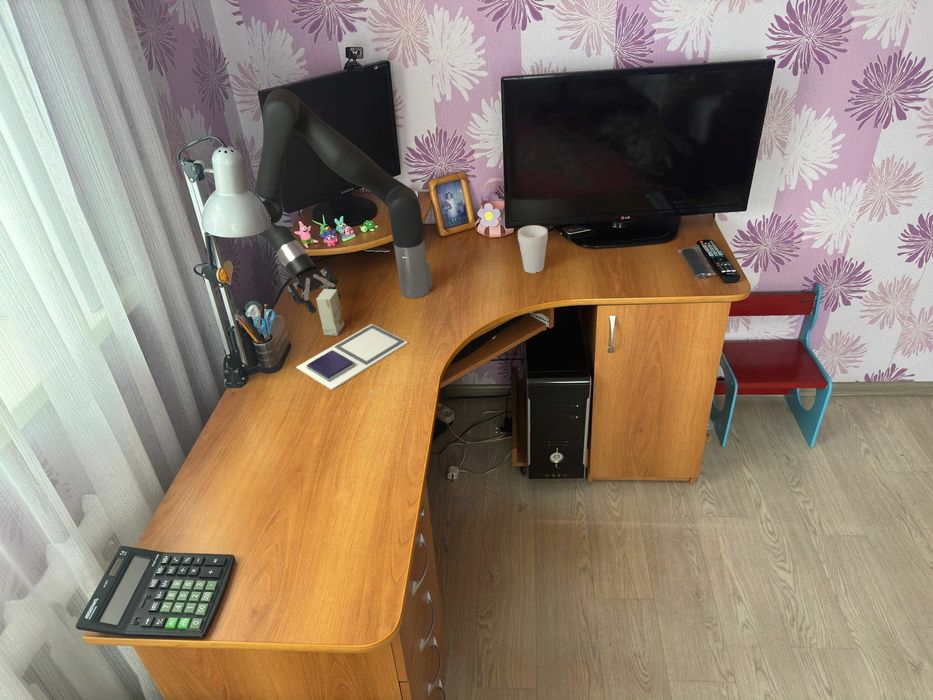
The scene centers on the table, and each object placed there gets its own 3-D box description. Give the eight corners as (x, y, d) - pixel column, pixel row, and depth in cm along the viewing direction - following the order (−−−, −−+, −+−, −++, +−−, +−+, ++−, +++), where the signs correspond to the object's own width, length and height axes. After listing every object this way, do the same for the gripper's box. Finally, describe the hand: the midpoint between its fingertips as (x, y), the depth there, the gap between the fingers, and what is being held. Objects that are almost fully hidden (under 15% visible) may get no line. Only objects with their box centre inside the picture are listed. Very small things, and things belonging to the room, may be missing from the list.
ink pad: (333, 353, 195) (332, 348, 194) (355, 365, 189) (354, 361, 188) (306, 368, 190) (305, 363, 189) (329, 381, 184) (328, 377, 183)
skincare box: (337, 336, 203) (329, 300, 196) (323, 335, 204) (315, 299, 197) (345, 324, 208) (337, 288, 201) (331, 323, 209) (323, 288, 202)
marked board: (371, 324, 206) (371, 322, 206) (408, 343, 197) (407, 341, 196) (296, 368, 191) (295, 366, 191) (331, 390, 182) (331, 388, 181)
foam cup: (520, 261, 231) (518, 225, 224) (548, 261, 230) (547, 224, 223) (519, 275, 224) (517, 238, 216) (548, 275, 222) (547, 237, 215)
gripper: (278, 263, 195) (310, 311, 195) (319, 245, 203) (350, 290, 203) (272, 275, 202) (303, 321, 201) (312, 256, 210) (342, 301, 209)
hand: (327, 306), depth 202 cm, fingers open, 8 cm apart
